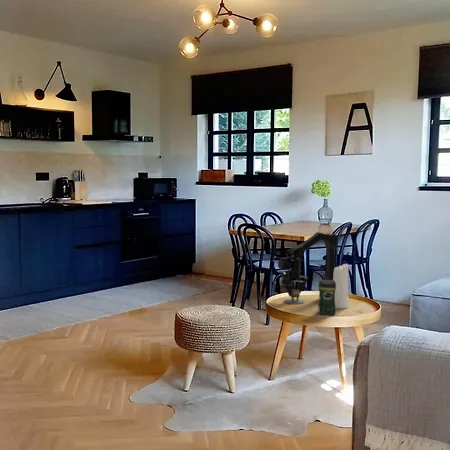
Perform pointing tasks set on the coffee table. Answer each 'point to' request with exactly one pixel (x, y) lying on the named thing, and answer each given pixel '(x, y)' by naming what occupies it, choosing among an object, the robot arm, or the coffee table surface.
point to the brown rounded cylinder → (295, 294)
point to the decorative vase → (341, 286)
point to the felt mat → (294, 301)
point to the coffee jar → (326, 297)
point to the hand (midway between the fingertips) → (294, 294)
